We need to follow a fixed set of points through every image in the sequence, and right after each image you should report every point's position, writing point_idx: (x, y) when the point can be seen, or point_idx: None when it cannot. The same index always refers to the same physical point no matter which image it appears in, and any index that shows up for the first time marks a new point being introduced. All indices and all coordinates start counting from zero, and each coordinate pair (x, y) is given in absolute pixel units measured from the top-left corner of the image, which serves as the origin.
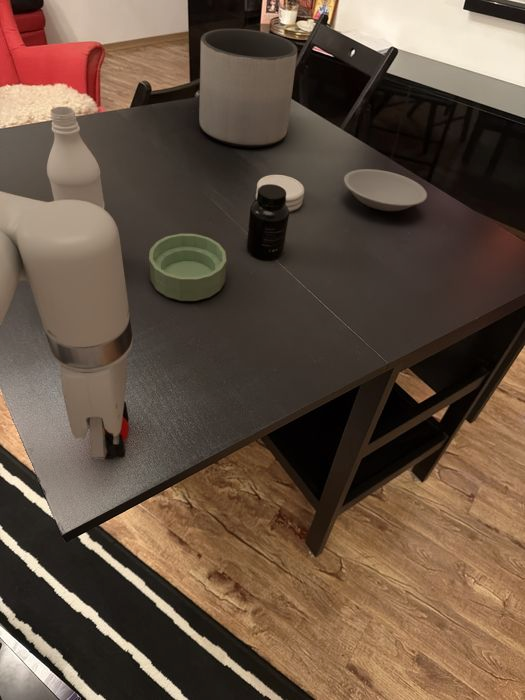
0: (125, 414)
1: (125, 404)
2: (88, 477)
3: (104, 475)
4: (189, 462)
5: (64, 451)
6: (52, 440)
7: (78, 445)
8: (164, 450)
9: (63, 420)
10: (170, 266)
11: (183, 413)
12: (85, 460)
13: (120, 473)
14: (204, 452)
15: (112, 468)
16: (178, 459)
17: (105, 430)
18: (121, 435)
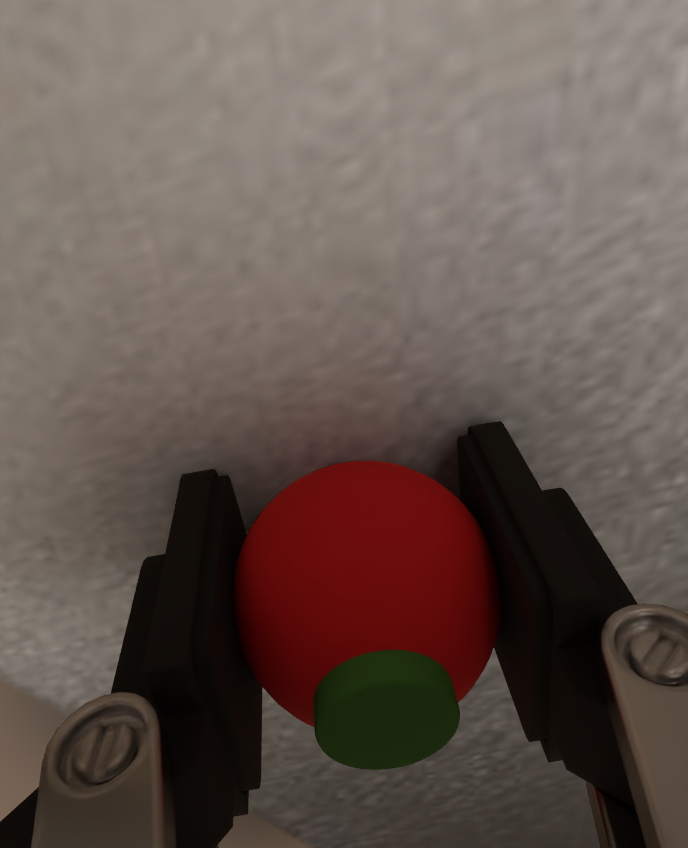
0: (499, 655)
1: (554, 757)
2: (22, 449)
3: (72, 530)
4: (258, 808)
5: (189, 210)
6: (283, 50)
7: (267, 304)
8: (308, 726)
9: (518, 84)
10: None
11: (538, 743)
12: (148, 392)
13: (115, 599)
14: (320, 835)
15: (135, 555)
16: (266, 776)
17: (291, 680)
18: (240, 814)
